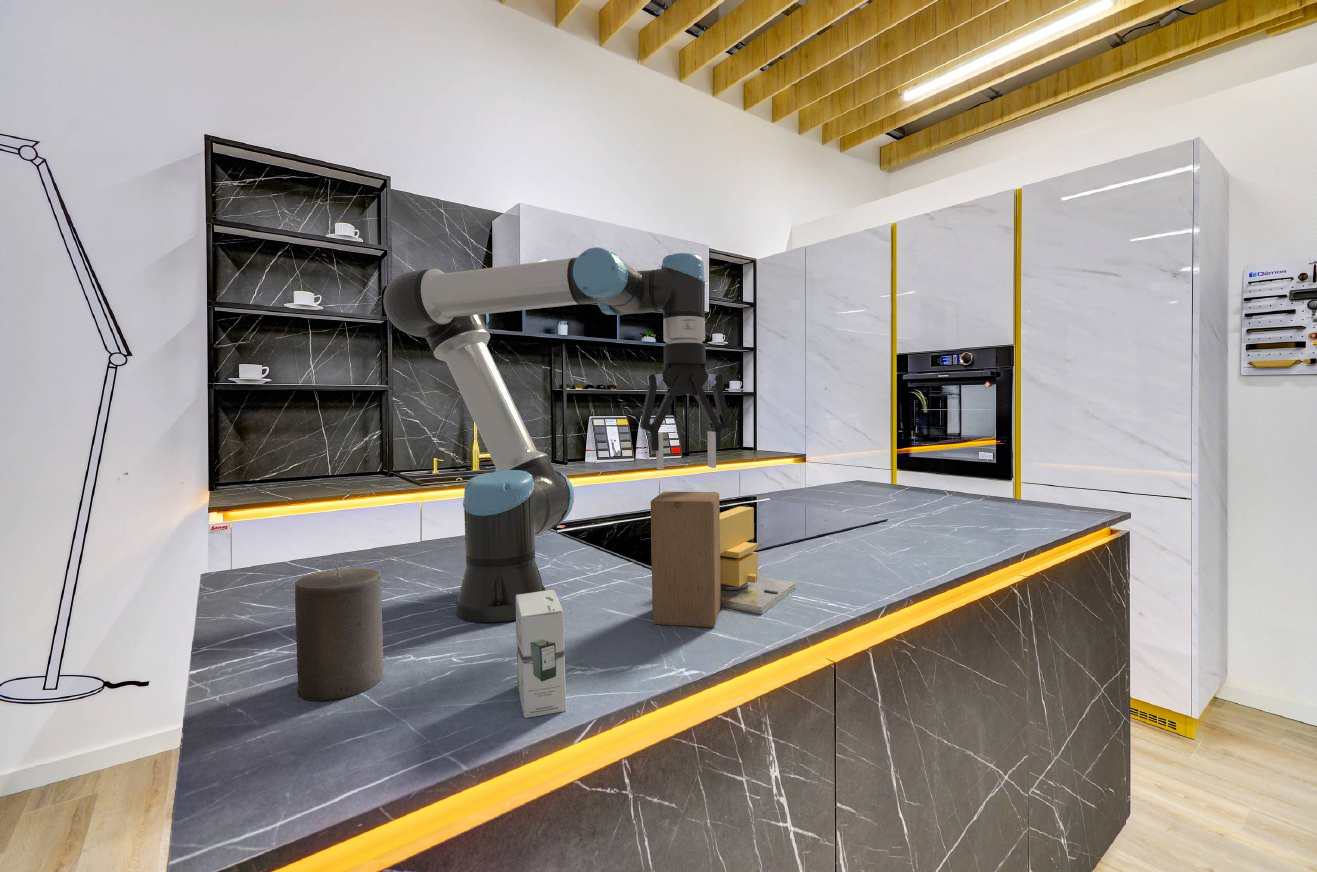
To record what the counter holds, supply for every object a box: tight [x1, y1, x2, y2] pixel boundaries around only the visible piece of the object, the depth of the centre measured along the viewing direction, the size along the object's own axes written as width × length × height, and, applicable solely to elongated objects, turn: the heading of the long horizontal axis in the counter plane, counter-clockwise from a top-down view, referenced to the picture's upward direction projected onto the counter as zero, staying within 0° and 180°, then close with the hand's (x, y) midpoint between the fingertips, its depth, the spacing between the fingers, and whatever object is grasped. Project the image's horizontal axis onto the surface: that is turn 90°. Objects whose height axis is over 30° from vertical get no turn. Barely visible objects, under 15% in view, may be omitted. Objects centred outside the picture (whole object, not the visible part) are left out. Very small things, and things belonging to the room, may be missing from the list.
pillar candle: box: [294, 566, 384, 702], centre depth 73 cm, size 10×10×15 cm
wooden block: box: [650, 490, 722, 628], centre depth 95 cm, size 10×10×20 cm
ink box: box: [515, 589, 567, 719], centre depth 68 cm, size 9×5×12 cm, turn 19°
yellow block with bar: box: [720, 506, 759, 587], centre depth 107 cm, size 11×16×12 cm
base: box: [720, 556, 797, 615], centre depth 107 cm, size 20×16×10 cm
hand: (686, 468), depth 104 cm, fingers open, 9 cm apart
